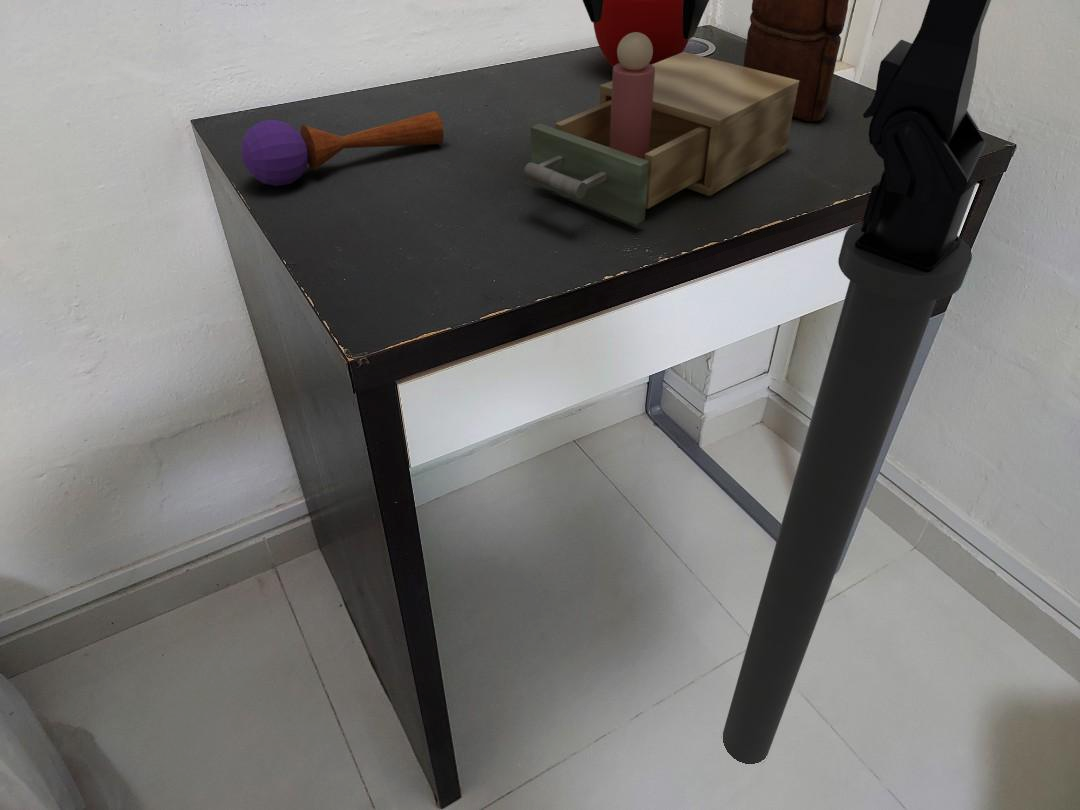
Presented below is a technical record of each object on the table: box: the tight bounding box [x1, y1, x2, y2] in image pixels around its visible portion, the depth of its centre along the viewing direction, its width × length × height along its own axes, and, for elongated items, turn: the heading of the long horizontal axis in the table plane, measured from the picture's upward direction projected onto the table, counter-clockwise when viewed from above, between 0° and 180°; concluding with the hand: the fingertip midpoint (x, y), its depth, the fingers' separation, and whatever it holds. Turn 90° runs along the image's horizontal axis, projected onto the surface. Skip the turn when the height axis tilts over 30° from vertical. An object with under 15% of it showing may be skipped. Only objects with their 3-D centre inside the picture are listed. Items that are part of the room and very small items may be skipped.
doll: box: [609, 32, 655, 160], centre depth 69 cm, size 4×4×12 cm
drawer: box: [523, 100, 711, 226], centre depth 71 cm, size 17×12×5 cm
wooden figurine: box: [743, 0, 850, 122], centre depth 84 cm, size 12×6×18 cm, turn 42°
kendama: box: [240, 110, 445, 187], centre depth 78 cm, size 6×6×20 cm
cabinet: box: [599, 51, 799, 197], centre depth 78 cm, size 14×14×7 cm
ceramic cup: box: [592, 0, 690, 68], centre depth 98 cm, size 13×17×10 cm
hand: (640, 29), depth 68 cm, fingers open, 9 cm apart
